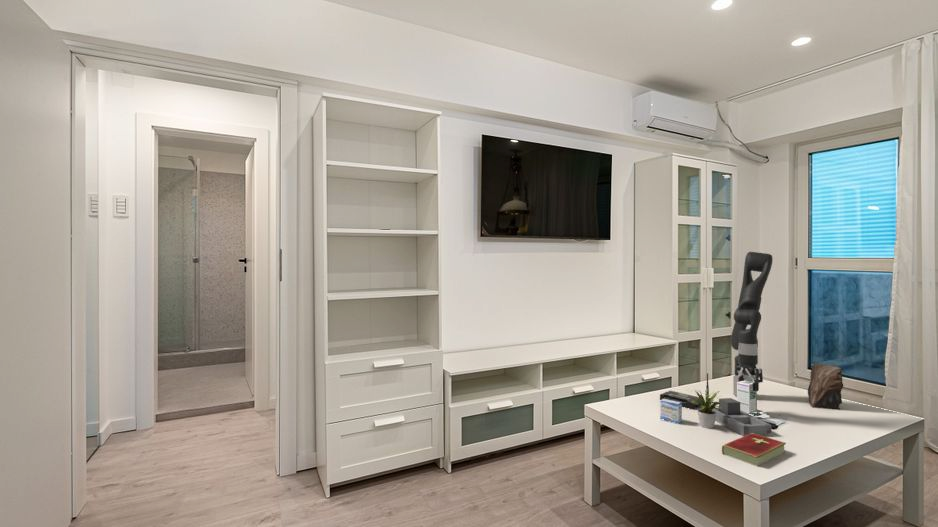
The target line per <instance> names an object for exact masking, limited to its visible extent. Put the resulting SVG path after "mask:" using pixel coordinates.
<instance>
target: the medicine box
mask: <svg viewBox="0 0 938 527" xmlns="http://www.w3.org/2000/svg"><path fill="white" fill-rule="evenodd" d="M659 402H660V403H659V405H660V406H659V409H660V410H659V413H660V414H659V418H660V419H659V420H661V419H664V420H667V421H666V422H668V421H671V422H670V423H672V422H675V423H674V424H677V423H679V424H680V423H682V422H683V417H682V416H683V412H682V411H683V407H682V402H678V401H673V400H668V399H662V400H661V401H660V400H659Z"/></svg>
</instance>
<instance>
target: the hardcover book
mask: <svg viewBox="0 0 938 527" xmlns="http://www.w3.org/2000/svg"><path fill="white" fill-rule="evenodd" d="M786 444H787V443H786V442H784V441H781V440H777V439H774V438H771V437H768V436H766V435H758V434H755V433H750V434H748V435H746V436H741V437H739V438H736V439H734V440H732V441H730V442H727V443H725V444H723V445H721V455H722V454H723V455H724V456H727V457H729V458H732V459H736V460H738V461H740V462H743V463H747V464H750V465H751V466H754V467H759V466H761V465H762V464H765V463H766V462H768V461H771V460H772V459H774V458H776V457H778V456H780V455H782V454H783V453H785V445H786ZM723 455H722V456H723Z"/></svg>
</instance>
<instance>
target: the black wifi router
mask: <svg viewBox="0 0 938 527" xmlns="http://www.w3.org/2000/svg"><path fill="white" fill-rule="evenodd" d="M707 389H708V391H707ZM709 389H710V388H709V373H708V372H706V388H705V391H707V393H708V397H709V398H710V396H709V395H710V390H709ZM697 397H698V398H699V396H697ZM697 397H695V395H692V394H691V395H690V394H687V393H682V392H680V391H679V392H678V391H674V390H668V391H665V392H663V393H660V394H659V401H660V400H662V399H668V400H673V401H678V402H682V408H684V407H685V408H684V409H688V408H689V409H688V410H692V409H693V410H694V409H697V408H700V405H701V403H702V402H701V403H700V401H699V399H700V398H699V399H698V398H697ZM709 398H708V399H709ZM692 401H696V402H697V403H699V404H700V405H697V403H696V404H694V403H692ZM708 403H709V402H708Z"/></svg>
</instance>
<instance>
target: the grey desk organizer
mask: <svg viewBox="0 0 938 527" xmlns="http://www.w3.org/2000/svg"><path fill="white" fill-rule="evenodd" d="M718 402H719V403H721V404H718V406H719V407H721V408H722V410H721V409H720V408H718V407H717V408H718V410H717V409H713V411H715V412H716V418H715V422H717V423H719V424H720V423H721V424H720V425H721V426H725V427H726V428H728V429H730V430H731V431H733V432H735V433H737V434H739V435H740V436H741V437H743V436H746V435H748V434H750V433H755V434H758V435H761V436H772V424H770V423H768V422H766V421H764V420H763V419H761V418H756V417H753V416H751V415H749V414H747V413H745V412H743V411H741V410H740V402H739V401H737V399H734V398H732V397H729V398H728V397H726V398H722V397H721V398H718Z"/></svg>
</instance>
